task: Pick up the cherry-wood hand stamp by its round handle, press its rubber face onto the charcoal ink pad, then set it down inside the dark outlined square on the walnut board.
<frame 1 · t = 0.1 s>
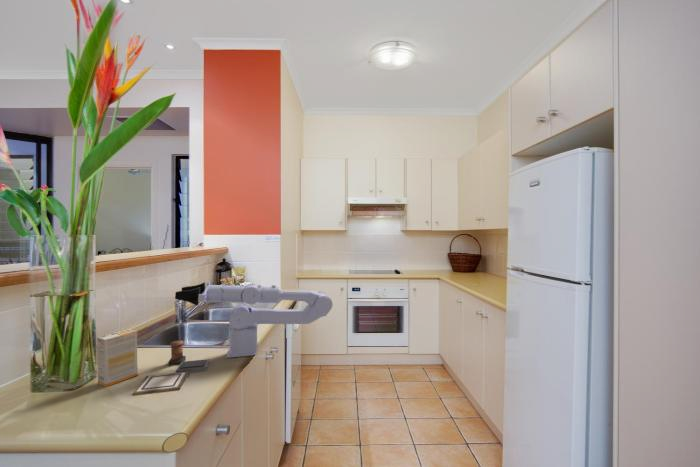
hand: (178, 293, 105), 22 cm above the countertop, tool horizontal, fingers open, 7 cm apart
stamp: (177, 362, 103), on the countertop
board: (162, 383, 88), on the countertop
ink pad: (193, 367, 98), on the countertop
supplement box: (117, 380, 91), on the countertop
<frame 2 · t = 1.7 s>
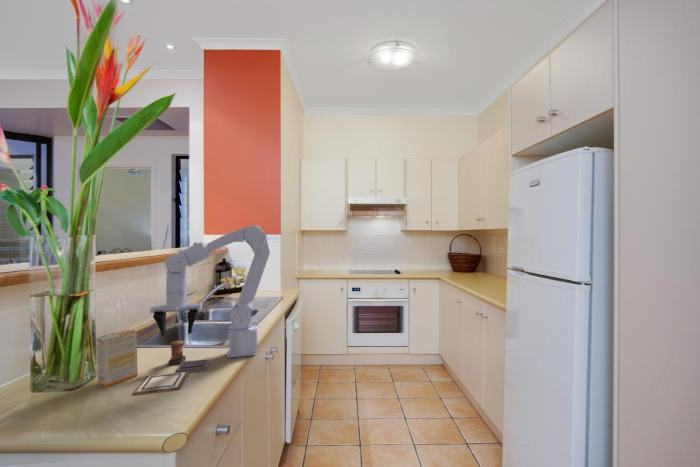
hand: (176, 334, 103), 9 cm above the countertop, tool pointing down, fingers open, 7 cm apart
nothing on the countertop moved.
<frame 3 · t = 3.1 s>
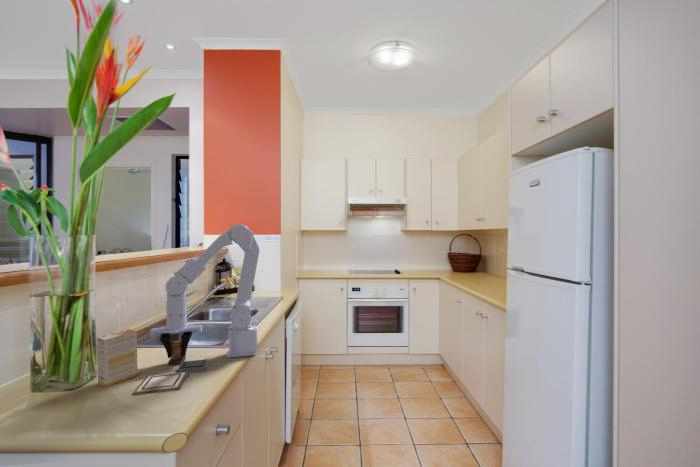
hand: (177, 356, 103), 2 cm above the countertop, tool pointing down, fingers closed on stamp, 3 cm apart
stamp: (177, 362, 103), on the countertop, touching gripper
everything else where it was.
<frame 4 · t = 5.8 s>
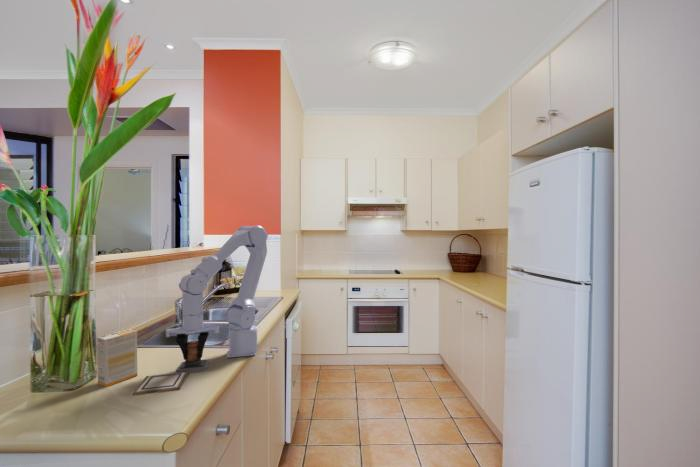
hand: (193, 357, 98), 3 cm above the countertop, tool pointing down, fingers closed on stamp, 3 cm apart
stamp: (192, 363, 98), point 1 cm above the countertop, touching gripper, ink pad
everything else where it was.
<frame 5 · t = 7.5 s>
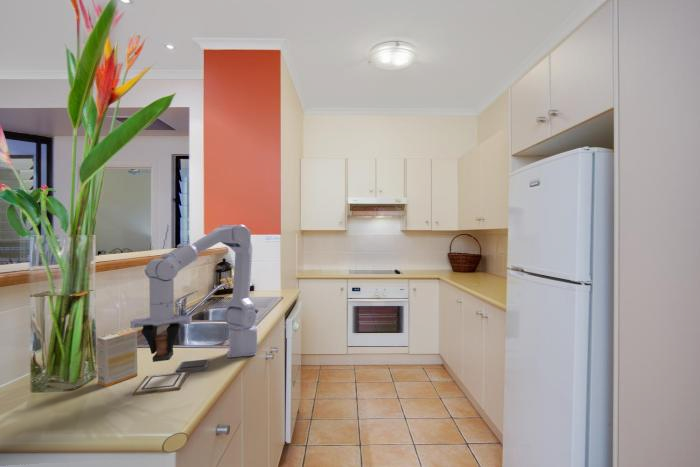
hand: (162, 351, 88), 9 cm above the countertop, tool pointing down, fingers closed on stamp, 3 cm apart
stamp: (163, 357, 89), point 7 cm above the countertop, touching gripper
everything else where it was.
when the fingers open (3 cm above the countertop, at t = 8.7 s): stamp drops 1 cm, resting on board.
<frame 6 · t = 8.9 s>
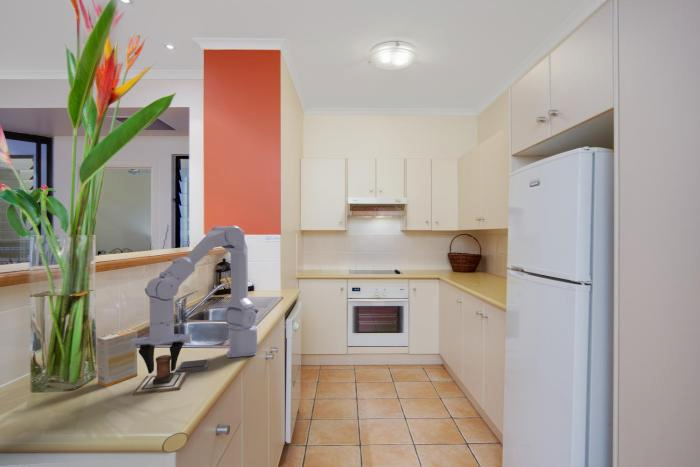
hand: (162, 370, 88), 4 cm above the countertop, tool pointing down, fingers open, 5 cm apart
stamp: (163, 380, 89), point 1 cm above the countertop, touching board
everything else where it was.
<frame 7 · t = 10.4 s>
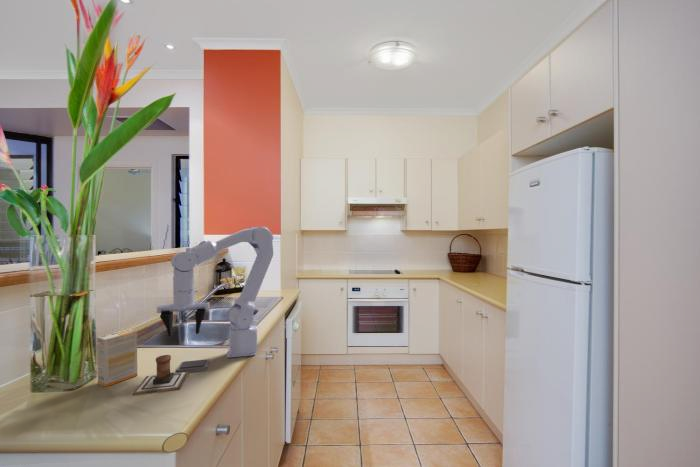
hand: (184, 334, 100), 10 cm above the countertop, tool pointing down, fingers open, 7 cm apart
nothing on the countertop moved.
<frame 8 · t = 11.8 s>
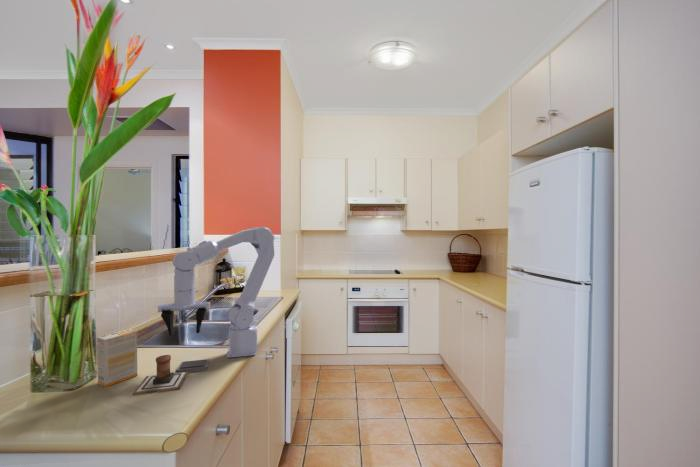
hand: (184, 333, 101), 10 cm above the countertop, tool pointing down, fingers open, 7 cm apart
nothing on the countertop moved.
at the end: stamp 0.4 cm off-centre on the board, point 0.6 cm above the board's base; stamp tilted 0°; the gripper is holding nothing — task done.
